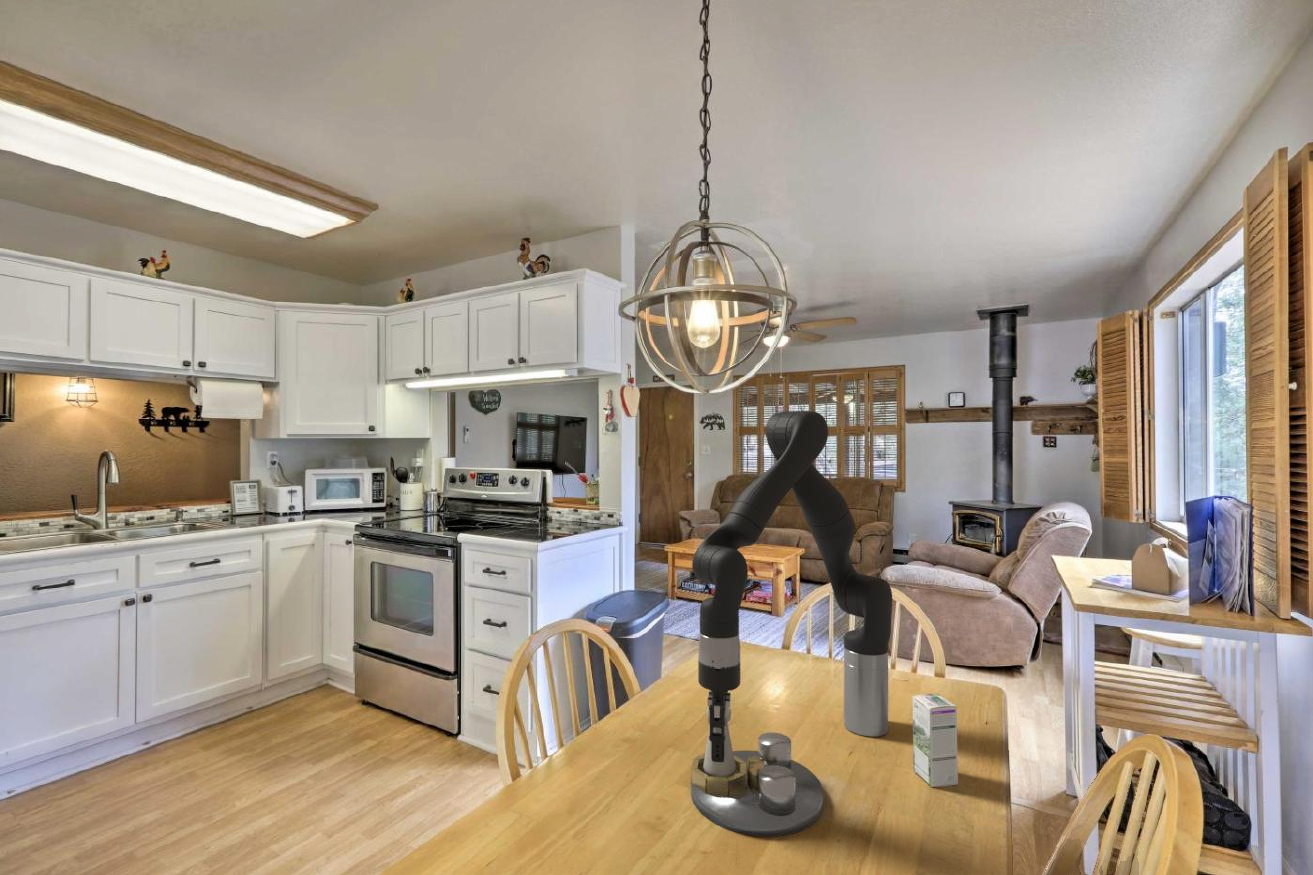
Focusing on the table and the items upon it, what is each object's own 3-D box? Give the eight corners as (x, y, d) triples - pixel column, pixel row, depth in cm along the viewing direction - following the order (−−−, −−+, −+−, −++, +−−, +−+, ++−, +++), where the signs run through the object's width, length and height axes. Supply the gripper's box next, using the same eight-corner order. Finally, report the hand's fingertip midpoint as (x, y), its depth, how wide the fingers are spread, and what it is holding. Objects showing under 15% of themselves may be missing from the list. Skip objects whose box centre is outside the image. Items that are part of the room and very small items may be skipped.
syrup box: (959, 785, 110) (959, 705, 110) (929, 788, 109) (929, 707, 109) (939, 768, 115) (939, 692, 116) (911, 771, 115) (911, 694, 115)
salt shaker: (732, 770, 111) (732, 699, 111) (738, 787, 105) (738, 712, 105) (701, 771, 110) (700, 700, 111) (705, 789, 105) (705, 713, 105)
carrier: (697, 756, 120) (697, 720, 120) (815, 766, 116) (816, 729, 116) (683, 828, 97) (683, 784, 97) (831, 844, 93) (831, 798, 94)
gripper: (701, 643, 116) (701, 728, 115) (694, 671, 102) (694, 768, 101) (741, 645, 114) (741, 731, 114) (739, 674, 100) (739, 771, 100)
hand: (719, 748), depth 108 cm, fingers open, 8 cm apart
